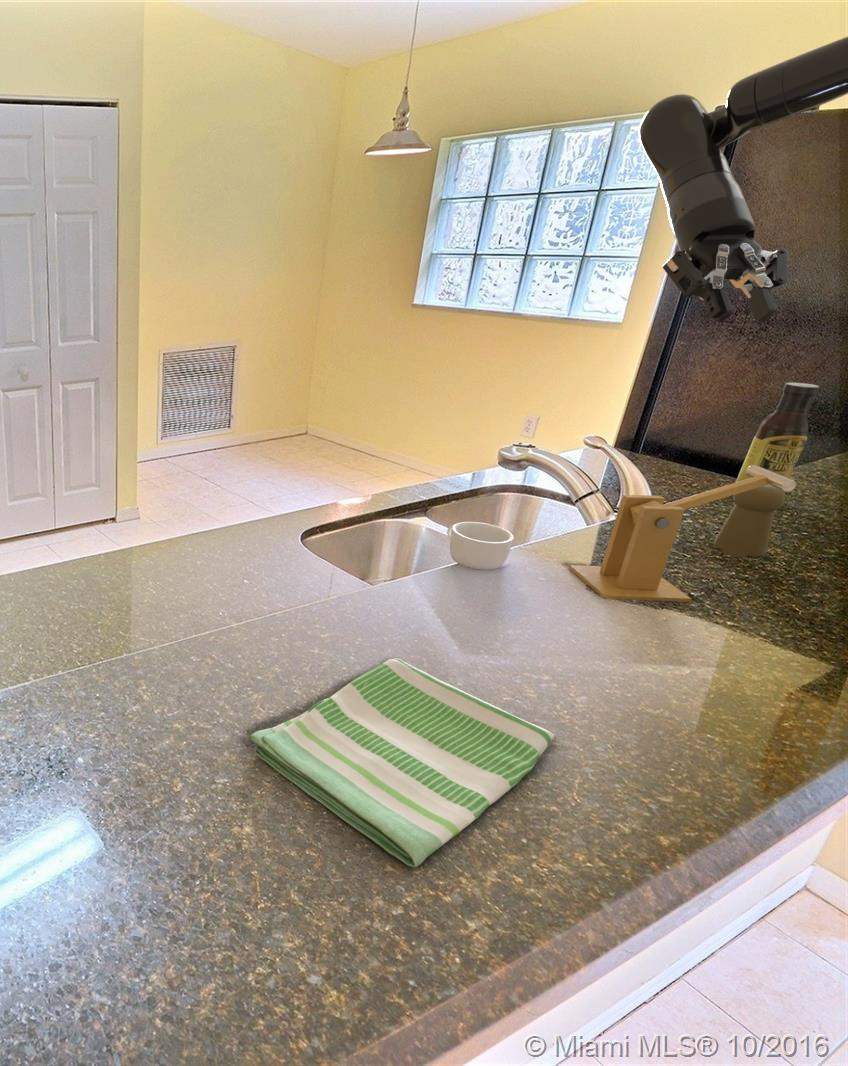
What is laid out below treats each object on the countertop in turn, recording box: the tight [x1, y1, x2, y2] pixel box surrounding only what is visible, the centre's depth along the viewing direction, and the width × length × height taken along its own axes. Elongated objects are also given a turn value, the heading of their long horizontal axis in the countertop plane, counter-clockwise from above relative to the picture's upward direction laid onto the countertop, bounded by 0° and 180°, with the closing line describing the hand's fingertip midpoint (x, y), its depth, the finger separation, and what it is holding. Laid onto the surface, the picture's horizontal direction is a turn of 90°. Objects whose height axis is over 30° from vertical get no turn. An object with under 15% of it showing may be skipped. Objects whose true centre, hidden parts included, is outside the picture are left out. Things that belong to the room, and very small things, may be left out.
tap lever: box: [630, 465, 797, 524], centre depth 89 cm, size 15×6×2 cm, turn 80°
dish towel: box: [249, 657, 555, 868], centre depth 67 cm, size 18×23×3 cm
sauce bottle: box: [735, 382, 820, 485], centre depth 120 cm, size 7×6×20 cm
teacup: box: [446, 521, 515, 571], centre depth 103 cm, size 10×8×5 cm
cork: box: [712, 485, 786, 560], centre depth 101 cm, size 6×6×11 cm
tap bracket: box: [568, 494, 692, 603], centre depth 93 cm, size 10×9×13 cm
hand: (744, 317), depth 91 cm, fingers open, 4 cm apart
